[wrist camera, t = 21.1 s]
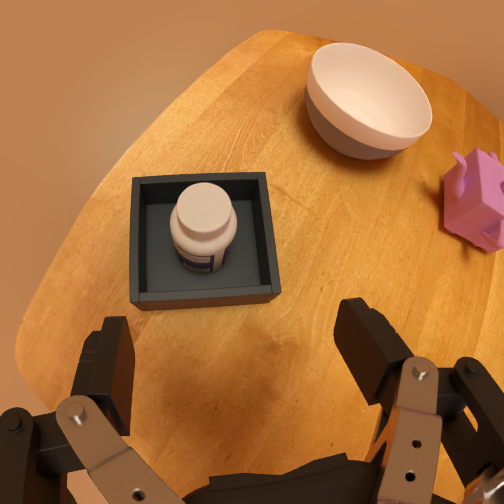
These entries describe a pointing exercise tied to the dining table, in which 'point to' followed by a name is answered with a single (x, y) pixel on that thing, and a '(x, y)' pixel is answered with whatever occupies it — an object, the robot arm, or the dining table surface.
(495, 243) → the teapot
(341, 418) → the dining table surface
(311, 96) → the bowl
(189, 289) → the tub
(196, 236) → the pill bottle
